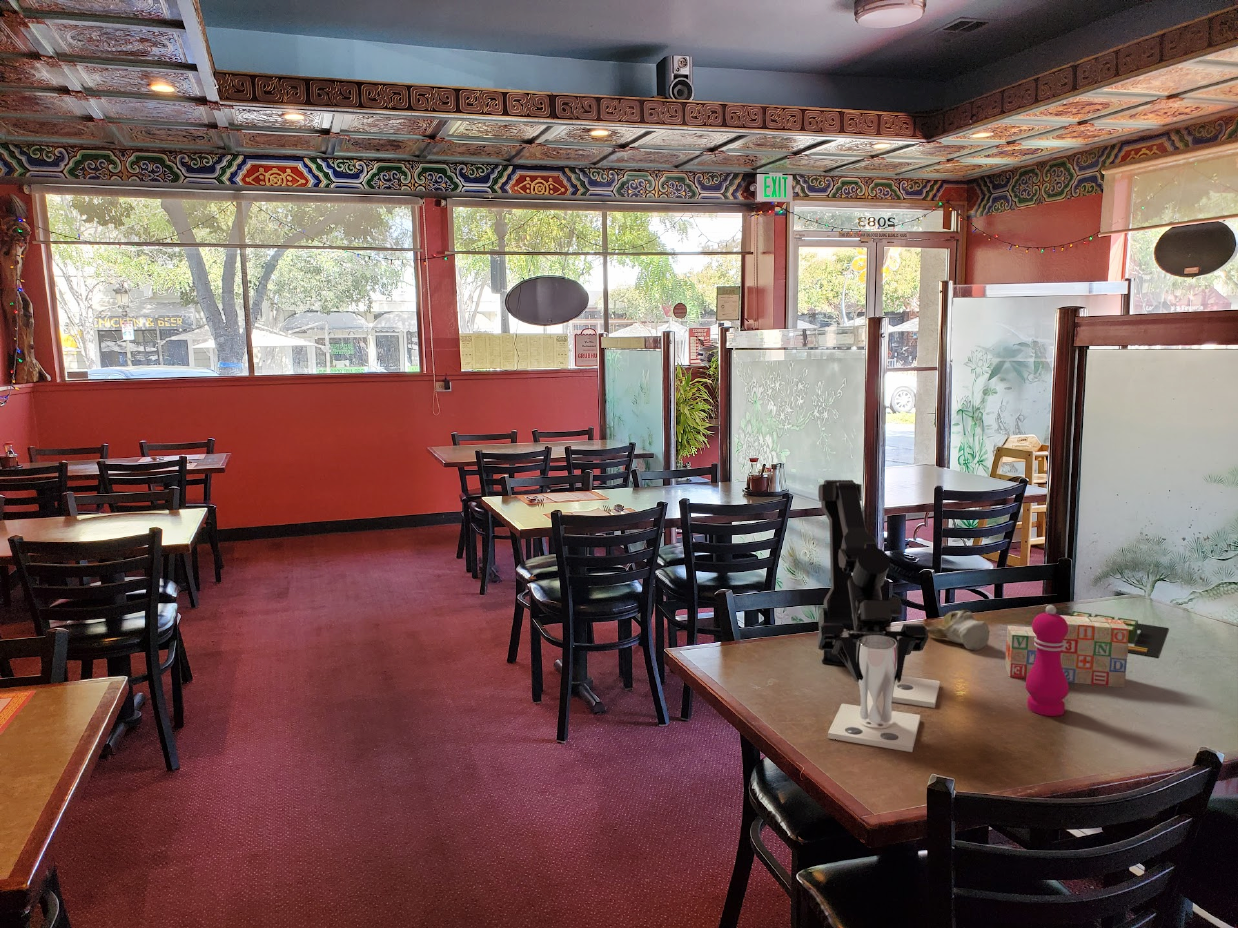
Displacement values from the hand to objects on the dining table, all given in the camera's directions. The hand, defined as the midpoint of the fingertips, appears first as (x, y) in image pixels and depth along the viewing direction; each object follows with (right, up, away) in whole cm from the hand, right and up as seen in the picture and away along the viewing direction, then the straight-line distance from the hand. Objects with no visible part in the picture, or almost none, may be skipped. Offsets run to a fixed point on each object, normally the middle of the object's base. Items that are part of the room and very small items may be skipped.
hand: (878, 681), depth 155 cm
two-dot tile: (0, -9, +3) cm, 9 cm away
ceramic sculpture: (+33, -3, +49) cm, 59 cm away
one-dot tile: (+11, -7, +20) cm, 23 cm away
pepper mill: (+34, -8, +11) cm, 37 cm away
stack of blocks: (+46, -6, +27) cm, 54 cm away
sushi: (+69, -3, +55) cm, 88 cm away
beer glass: (0, -8, +3) cm, 9 cm away
